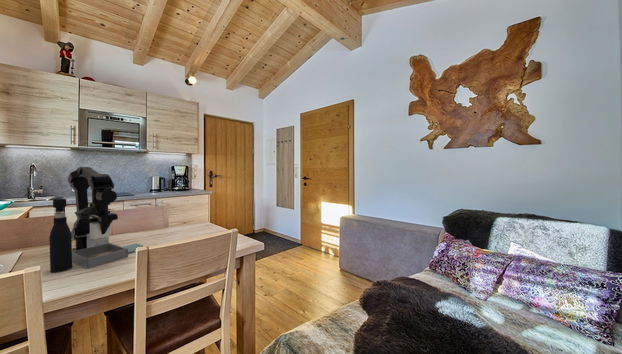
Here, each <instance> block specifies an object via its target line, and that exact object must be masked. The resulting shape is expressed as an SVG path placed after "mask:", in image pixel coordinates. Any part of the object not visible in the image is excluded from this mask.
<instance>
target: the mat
mask: <svg viewBox="0 0 622 354" xmlns="http://www.w3.org/2000/svg"><path fill="white" fill-rule="evenodd" d="M143 246H144V245H142V244H139V243H132V244H128V245H125V246H123V247H124V248H127V249H128V255H130V254H134V253H136V252H135V250H136V248H137V247H143Z"/></svg>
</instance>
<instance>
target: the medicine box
mask: <svg viewBox="0 0 622 354" xmlns="http://www.w3.org/2000/svg"><path fill="white" fill-rule="evenodd" d="M109 237H110V236H108V237H104V238H99V239H92V238H90V234H87V248H89V247H94V246H98V245H102V244H107V243H110V238H109Z"/></svg>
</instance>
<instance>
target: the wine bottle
mask: <svg viewBox="0 0 622 354" xmlns="http://www.w3.org/2000/svg"><path fill="white" fill-rule="evenodd" d="M65 207H67V198H55V199H54V198H53V199H52V208H54V209H55V212H54V217H53V226H52V227H51V230H50V232H49V239H48V240H49V272H50V273H55V274H56V273H61V272H65V271H68V270H71V269H72V268H73V262H72V251H73V247H72V241H73V239H71V231H72V230H71V229H70V227H69V225H68V222H67V215H66V212H65Z"/></svg>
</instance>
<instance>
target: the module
mask: <svg viewBox="0 0 622 354" xmlns="http://www.w3.org/2000/svg"><path fill="white" fill-rule="evenodd" d="M108 236H109V237H111V225H110V226H109V227H108V229H107V231H106V233H105V234H102V233H101V229H100V224H99V223H97V222H93V223H90V238H92V239H99V238H104V237H108Z"/></svg>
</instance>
